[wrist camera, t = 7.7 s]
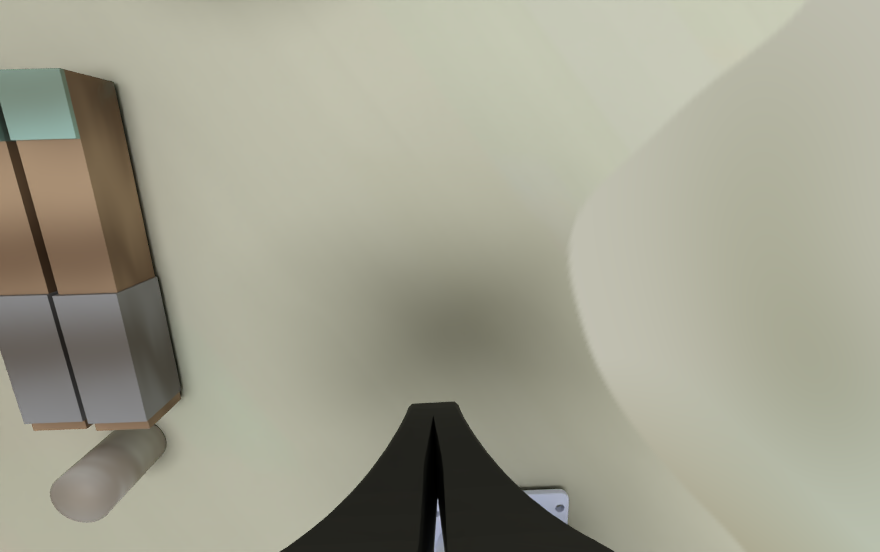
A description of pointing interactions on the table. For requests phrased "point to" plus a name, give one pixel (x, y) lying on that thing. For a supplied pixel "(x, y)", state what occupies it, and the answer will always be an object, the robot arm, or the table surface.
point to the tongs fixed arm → (54, 358)
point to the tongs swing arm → (94, 243)
